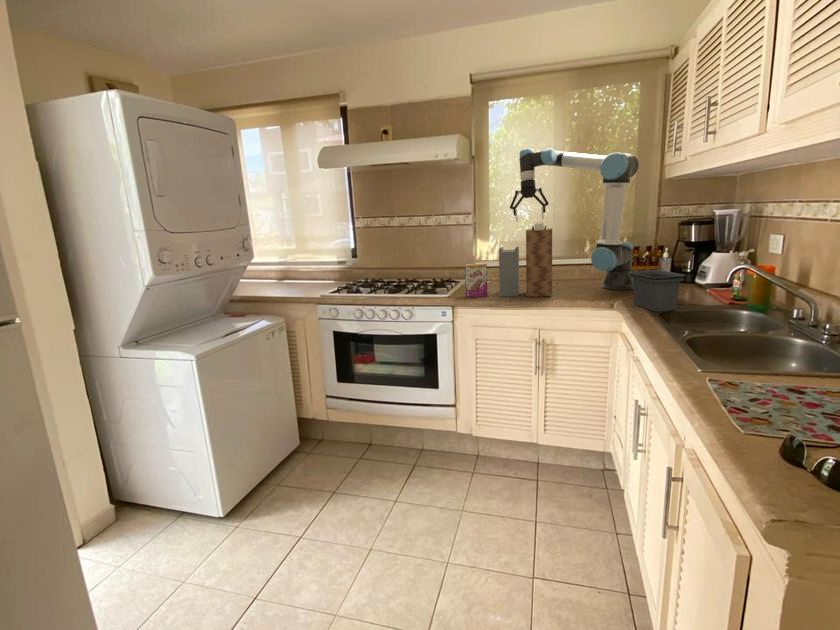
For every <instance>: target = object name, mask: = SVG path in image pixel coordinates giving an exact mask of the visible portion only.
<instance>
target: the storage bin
mask: <svg viewBox="0 0 840 630" xmlns="http://www.w3.org/2000/svg"><path fill="white" fill-rule="evenodd" d="M629 273H630V274H631V275H630V277H631V278H633V289H632V290H633V292H632V293H633V304H634V305H635V306H638V307H640V308H643V309H647V310H648V311H649V310H650V311H653V312H656V313H658V312H672V311H676V310H677V305H678V296H679V292H680V286H681V285H680V284H681V282H683V281H684V278H683V277H685V276H686V274H682V273H677V272H672V271H666V270H661V269H660V270H659V269H647V270H646V269H645V270H634V271H633V270H631V272H629Z"/></svg>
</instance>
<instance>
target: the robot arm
mask: <svg viewBox="0 0 840 630" xmlns="http://www.w3.org/2000/svg"><path fill="white" fill-rule="evenodd" d="M518 161H519V169H520V170H519V177H520V190H517V189H516V190H515V191H514V197H513V198H512V201H511V203H510V206H509V209H510V210H513V211H512V213H513V216H515V222H516V223H517V222H518V206H519V205H520V204H521V202H522V201H523V200H524V199H531V198H534V199H535V200H536V201H537V202H538V203H539V204H540V205H541V220H544V213H546V207H547V206H548V205H549V204H550V203H549V201H548V200H547V198H546V196H545V195H544V192H543V190H542V189H543V188H542V187H539V188H536V179H535V178H536V171H535V168H536V167H541V166H550V167H551V166H552V167H562V168H570V169H579V170H586V171H592V172H600V175H601V177H602V182H601V183H602V185H603V186H604V187H605V189H604V198H603V209H602V218H601V229H600V235H599V236H600V237H599V239H598V240H597V241H596V243H595V249H594V250H593V251H592V253H591V256H590V261H591V264H592V266H593V267H594V268H595V269H596V270H598V271H601V272H606V273H605V275H604V278H603V281H602V285H601V287H602V288H603V289H605V290H614V291H617V290H618V291H619V290H620V291H624V290H625V291H627V290H633V278H631V277H630V275H631V274H630V273H629V272H631V271H632V265H633V243H632V242H629V241H621V240H620V237H621V229H622V220H623V219H622V218H623V212H624V201H625V192H626V187H627V186H628V185H629V184H630V182H631V179H632V178H633V177H634V176H635V175H637V173H638V171H639V167H640V163H639V160H638V158H637V156H635V154H632V153H627V152H619V151H618V152H611V153H609V154H608V155H602V154H601V155H599V154H589V153H582V152H581V153H580V152H579V153H578V152H571V151H570V152H569V151H562V150H555V148H552V147H551V148H545V149H541V150H537V151H535V150H534V149H533V148H525V149H522V150H520V151H519V159H518ZM536 193H539V194H540V196H541V198H542V199H543V201H544V202H543V201H542V200H541V199H540V197H538V196H537V195H536ZM519 194H520V195H521V196H520V198H519V199H518V201H517V202H516V199H517V198H518V195H519ZM515 203H516V204H515Z"/></svg>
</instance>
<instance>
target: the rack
mask: <svg viewBox="0 0 840 630" xmlns="http://www.w3.org/2000/svg"><path fill="white" fill-rule="evenodd" d="M498 272H499V273H498V279H499V285H498V286H499V297H519V293H520V246H516V247H515V249H504V246H501V247H499V249H498Z"/></svg>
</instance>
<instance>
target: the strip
mask: <svg viewBox="0 0 840 630" xmlns="http://www.w3.org/2000/svg"><path fill="white" fill-rule="evenodd" d="M534 229H535V230H544V229H545V222H544V221H538V222H537V221H536V222H535V223H534Z"/></svg>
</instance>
